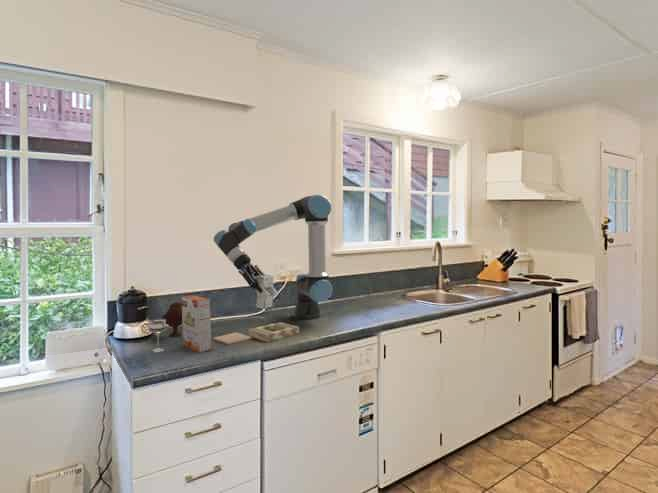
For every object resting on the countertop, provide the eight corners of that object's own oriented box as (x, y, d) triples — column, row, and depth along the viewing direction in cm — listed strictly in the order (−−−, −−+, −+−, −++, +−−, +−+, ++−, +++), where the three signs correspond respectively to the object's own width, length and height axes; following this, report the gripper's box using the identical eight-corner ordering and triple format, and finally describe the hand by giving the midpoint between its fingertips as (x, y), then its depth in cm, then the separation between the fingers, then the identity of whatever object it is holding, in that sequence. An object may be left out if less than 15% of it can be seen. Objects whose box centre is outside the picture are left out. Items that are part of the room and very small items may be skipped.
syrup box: (264, 305, 191) (264, 274, 190) (273, 307, 187) (273, 275, 187) (255, 307, 187) (255, 275, 186) (264, 309, 183) (264, 276, 182)
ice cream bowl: (162, 333, 193) (161, 301, 192) (187, 331, 197) (186, 300, 196) (162, 339, 183) (160, 306, 182) (188, 337, 187) (187, 304, 186)
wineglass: (169, 347, 171) (168, 318, 171) (163, 352, 165) (162, 322, 164) (153, 347, 171) (152, 319, 170) (146, 353, 164) (145, 323, 164)
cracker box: (182, 346, 173) (180, 296, 172) (195, 343, 177) (194, 294, 176) (198, 353, 163) (196, 300, 162) (212, 350, 167) (210, 298, 166)
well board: (279, 328, 201) (279, 322, 201) (299, 333, 191) (299, 326, 191) (248, 335, 188) (248, 329, 188) (268, 341, 178) (267, 334, 178)
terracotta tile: (236, 334, 191) (236, 332, 191) (251, 338, 183) (251, 337, 183) (213, 339, 182) (213, 337, 182) (228, 344, 174) (228, 343, 174)
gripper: (245, 262, 200) (276, 297, 196) (222, 266, 182) (255, 305, 177) (255, 251, 198) (286, 286, 194) (232, 254, 180) (266, 293, 175)
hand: (271, 295), depth 186 cm, fingers closed on syrup box, 7 cm apart
